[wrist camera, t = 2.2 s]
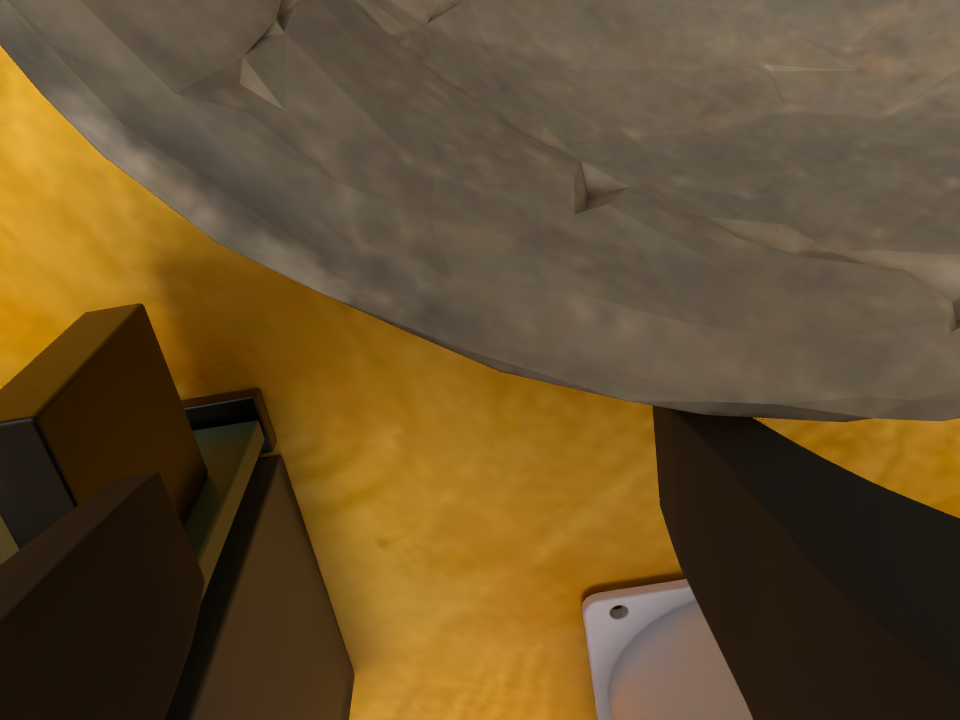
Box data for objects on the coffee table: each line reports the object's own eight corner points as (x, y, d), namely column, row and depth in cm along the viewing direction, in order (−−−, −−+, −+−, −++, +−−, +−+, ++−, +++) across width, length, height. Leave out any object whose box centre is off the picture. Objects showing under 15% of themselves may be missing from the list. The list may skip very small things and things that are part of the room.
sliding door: (205, 260, 16) (34, 457, 10) (266, 439, 18) (161, 710, 12) (-108, 314, 17) (-496, 546, 10) (-14, 486, 19) (-282, 778, 12)
